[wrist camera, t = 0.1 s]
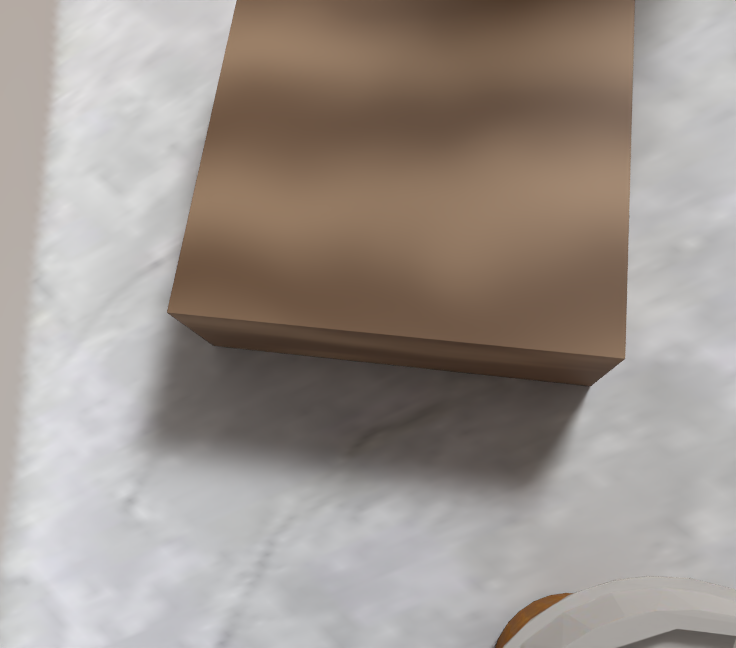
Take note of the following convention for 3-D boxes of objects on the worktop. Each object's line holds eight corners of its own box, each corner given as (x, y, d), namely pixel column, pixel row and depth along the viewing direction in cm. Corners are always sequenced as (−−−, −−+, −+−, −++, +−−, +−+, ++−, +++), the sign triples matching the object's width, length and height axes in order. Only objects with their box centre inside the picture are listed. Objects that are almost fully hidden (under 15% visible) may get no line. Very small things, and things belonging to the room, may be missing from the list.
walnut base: (590, 386, 26) (624, 358, 21) (213, 345, 28) (166, 312, 23) (604, 51, 30) (635, -36, 25) (275, 38, 32) (246, -43, 27)
